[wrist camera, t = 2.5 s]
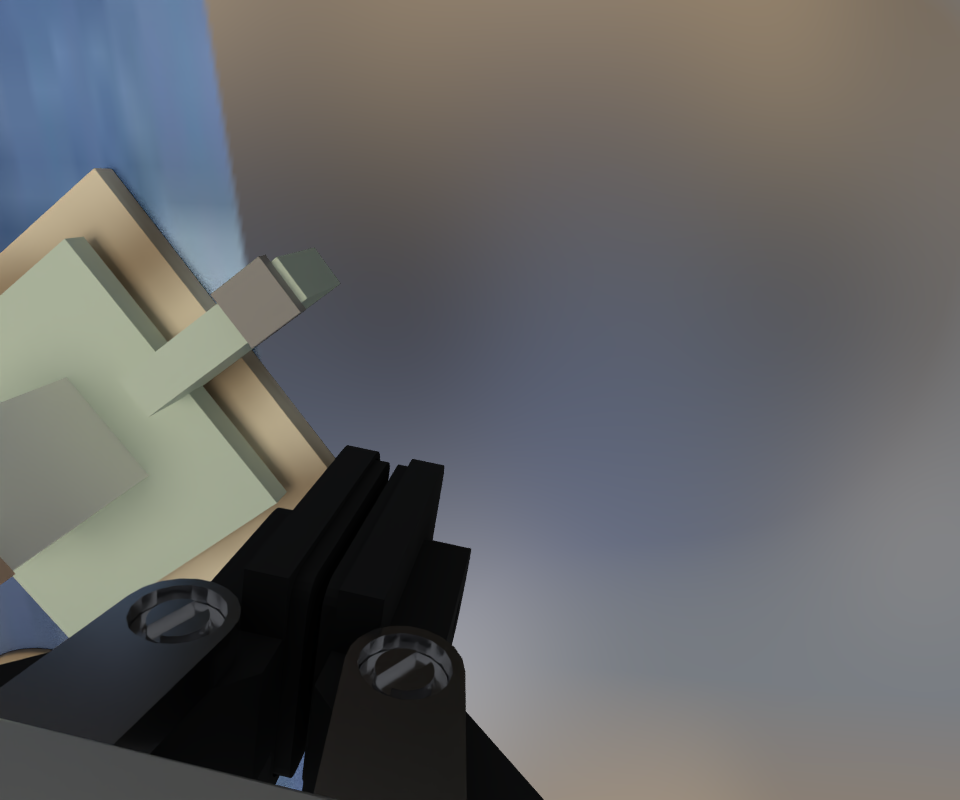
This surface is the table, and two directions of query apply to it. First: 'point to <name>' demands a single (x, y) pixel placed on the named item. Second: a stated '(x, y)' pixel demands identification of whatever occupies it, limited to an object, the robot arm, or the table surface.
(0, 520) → the box with copper trim
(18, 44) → the table surface
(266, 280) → the green piece
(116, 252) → the stand
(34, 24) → the table surface
